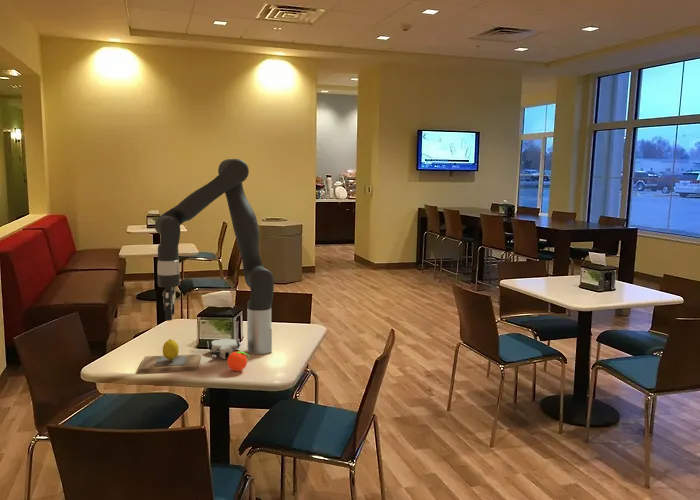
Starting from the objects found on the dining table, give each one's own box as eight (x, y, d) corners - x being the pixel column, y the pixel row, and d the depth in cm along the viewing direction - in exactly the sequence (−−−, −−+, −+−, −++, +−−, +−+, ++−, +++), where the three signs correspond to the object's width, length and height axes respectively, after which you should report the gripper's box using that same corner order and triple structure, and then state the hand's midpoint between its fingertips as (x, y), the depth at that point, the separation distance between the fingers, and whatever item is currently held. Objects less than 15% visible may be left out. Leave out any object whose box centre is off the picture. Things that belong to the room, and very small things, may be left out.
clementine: (251, 367, 213) (251, 348, 212) (248, 374, 206) (248, 354, 206) (229, 367, 213) (229, 348, 212) (225, 374, 206) (225, 354, 205)
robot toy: (244, 361, 223) (238, 347, 236) (244, 350, 222) (238, 336, 236) (210, 364, 219) (207, 349, 233) (210, 353, 218) (207, 338, 232)
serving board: (200, 358, 223) (200, 353, 223) (198, 370, 209) (198, 365, 209) (144, 360, 219) (144, 355, 219) (138, 373, 205) (138, 368, 205)
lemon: (174, 363, 211) (173, 341, 210) (159, 362, 212) (159, 340, 211) (181, 359, 216) (181, 337, 215) (167, 357, 217) (167, 336, 216)
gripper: (177, 275, 203) (179, 322, 206) (181, 268, 217) (182, 312, 219) (154, 276, 202) (156, 322, 204) (160, 269, 216) (161, 312, 218)
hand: (170, 317), depth 212 cm, fingers open, 8 cm apart
